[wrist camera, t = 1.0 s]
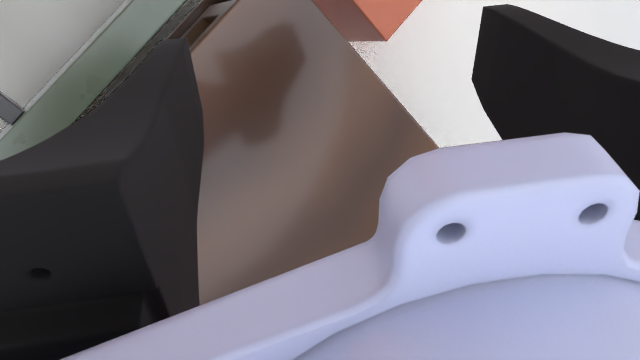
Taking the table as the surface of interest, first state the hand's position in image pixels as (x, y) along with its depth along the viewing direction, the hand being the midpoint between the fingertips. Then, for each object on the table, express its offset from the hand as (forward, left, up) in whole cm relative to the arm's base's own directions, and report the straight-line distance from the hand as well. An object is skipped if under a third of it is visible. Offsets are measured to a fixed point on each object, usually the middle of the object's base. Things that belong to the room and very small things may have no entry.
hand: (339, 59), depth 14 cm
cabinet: (-2, -6, -13) cm, 15 cm away
